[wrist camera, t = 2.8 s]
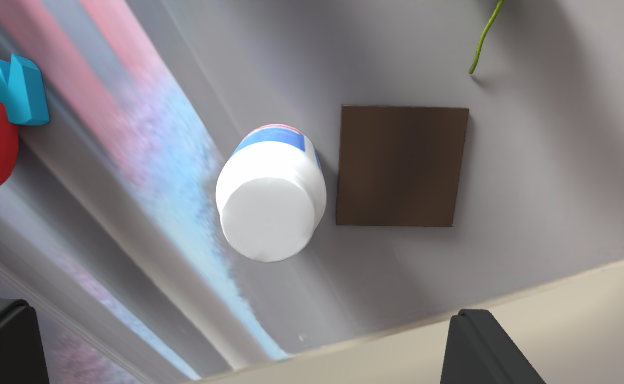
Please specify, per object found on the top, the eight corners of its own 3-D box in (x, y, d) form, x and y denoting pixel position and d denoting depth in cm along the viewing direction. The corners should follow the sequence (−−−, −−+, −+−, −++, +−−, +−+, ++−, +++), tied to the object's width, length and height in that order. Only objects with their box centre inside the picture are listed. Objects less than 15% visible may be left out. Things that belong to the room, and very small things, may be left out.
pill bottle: (218, 162, 25) (171, 215, 16) (278, 105, 24) (266, 125, 15) (277, 220, 27) (266, 299, 17) (336, 167, 26) (358, 221, 16)
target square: (335, 223, 27) (336, 225, 26) (341, 104, 24) (342, 105, 24) (450, 225, 27) (452, 227, 27) (466, 107, 25) (469, 108, 24)
